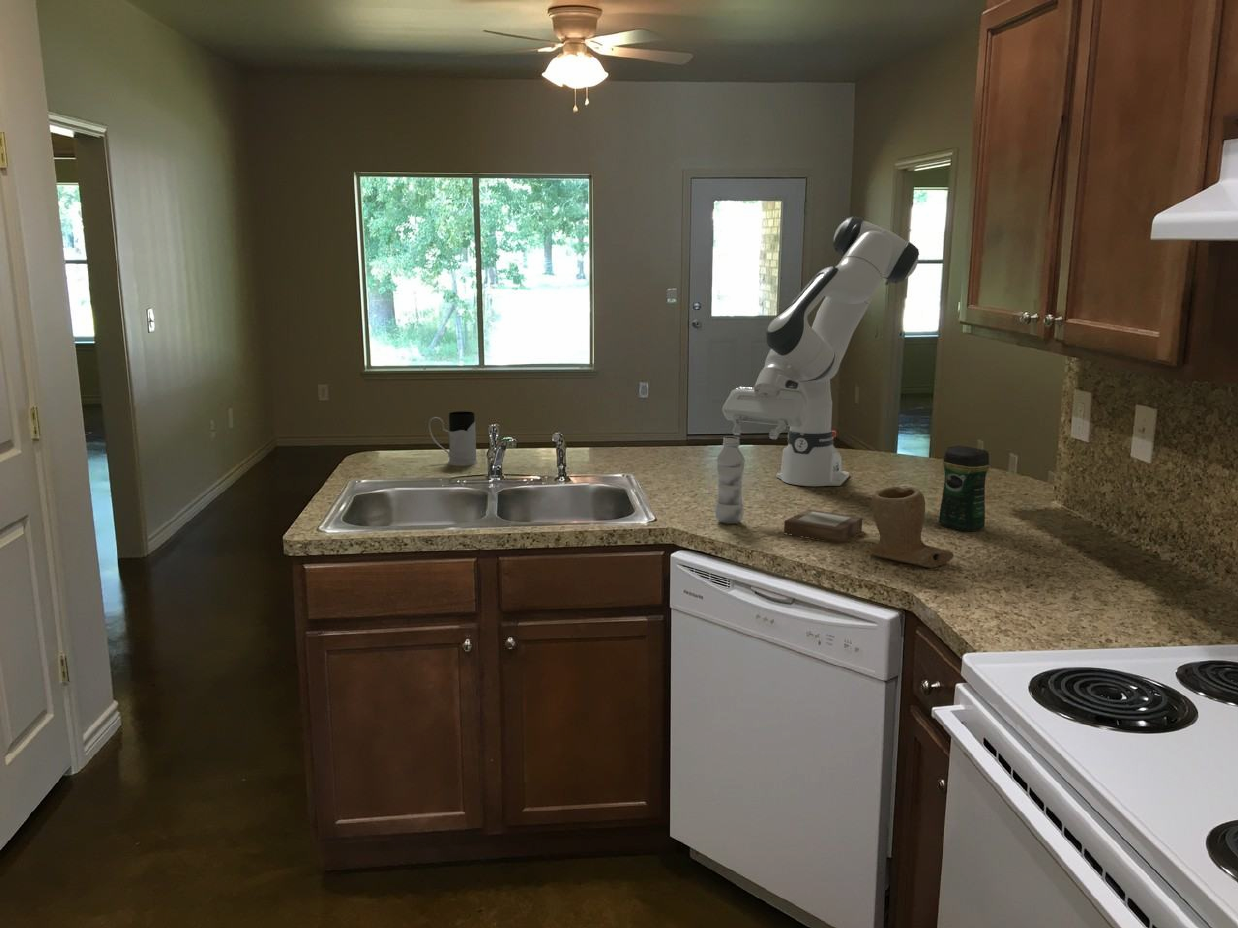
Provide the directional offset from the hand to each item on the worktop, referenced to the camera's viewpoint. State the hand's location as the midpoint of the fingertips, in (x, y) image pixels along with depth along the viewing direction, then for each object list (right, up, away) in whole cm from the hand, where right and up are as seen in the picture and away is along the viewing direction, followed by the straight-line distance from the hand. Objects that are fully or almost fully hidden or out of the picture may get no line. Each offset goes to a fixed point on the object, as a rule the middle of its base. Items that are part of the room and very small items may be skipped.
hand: (753, 435), depth 228 cm
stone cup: (+26, -27, -32) cm, 49 cm away
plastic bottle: (-6, -20, -3) cm, 22 cm away
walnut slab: (+14, -22, -11) cm, 28 cm away
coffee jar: (+47, -21, -5) cm, 52 cm away
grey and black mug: (-81, -6, +63) cm, 103 cm away
